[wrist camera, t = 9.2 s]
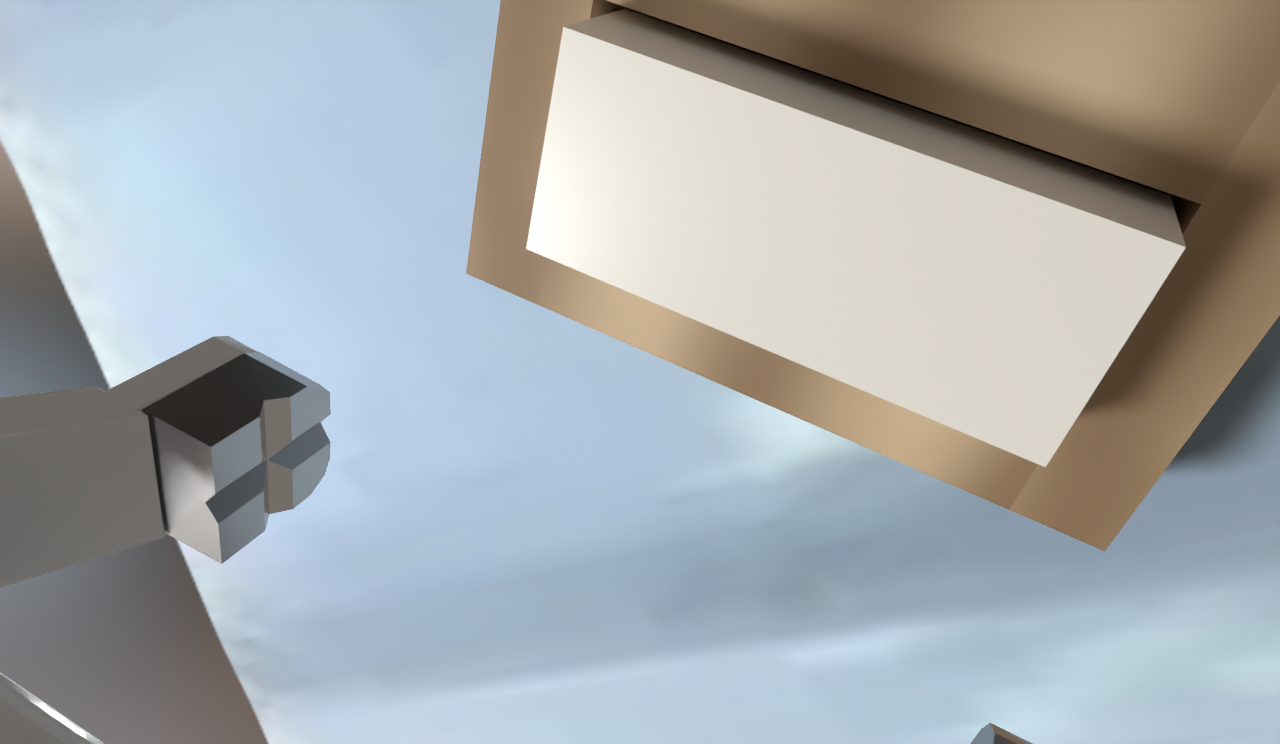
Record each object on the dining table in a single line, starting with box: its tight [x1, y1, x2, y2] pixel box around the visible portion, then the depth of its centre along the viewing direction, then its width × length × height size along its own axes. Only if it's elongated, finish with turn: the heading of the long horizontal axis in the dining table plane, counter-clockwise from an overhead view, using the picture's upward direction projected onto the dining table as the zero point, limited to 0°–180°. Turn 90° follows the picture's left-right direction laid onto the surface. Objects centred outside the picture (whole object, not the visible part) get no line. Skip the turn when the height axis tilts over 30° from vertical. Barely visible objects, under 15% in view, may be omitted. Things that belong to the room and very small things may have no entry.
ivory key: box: [526, 9, 1186, 467], centre depth 19 cm, size 12×5×3 cm, turn 76°
